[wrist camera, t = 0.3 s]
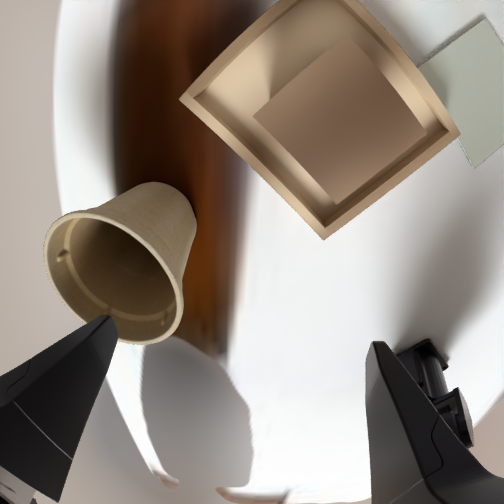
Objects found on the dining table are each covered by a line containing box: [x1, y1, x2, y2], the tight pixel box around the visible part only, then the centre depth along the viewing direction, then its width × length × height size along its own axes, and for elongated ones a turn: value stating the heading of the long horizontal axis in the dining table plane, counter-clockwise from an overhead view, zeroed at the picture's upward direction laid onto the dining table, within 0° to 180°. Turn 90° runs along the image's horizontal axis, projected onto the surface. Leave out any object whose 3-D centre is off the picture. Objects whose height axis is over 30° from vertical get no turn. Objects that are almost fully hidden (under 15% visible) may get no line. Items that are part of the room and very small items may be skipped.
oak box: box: [179, 0, 461, 241], centre depth 16 cm, size 12×11×3 cm
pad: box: [418, 19, 504, 168], centre depth 14 cm, size 8×8×1 cm
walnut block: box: [252, 35, 427, 204], centre depth 13 cm, size 4×4×7 cm
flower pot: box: [43, 182, 197, 345], centre depth 20 cm, size 9×9×9 cm
